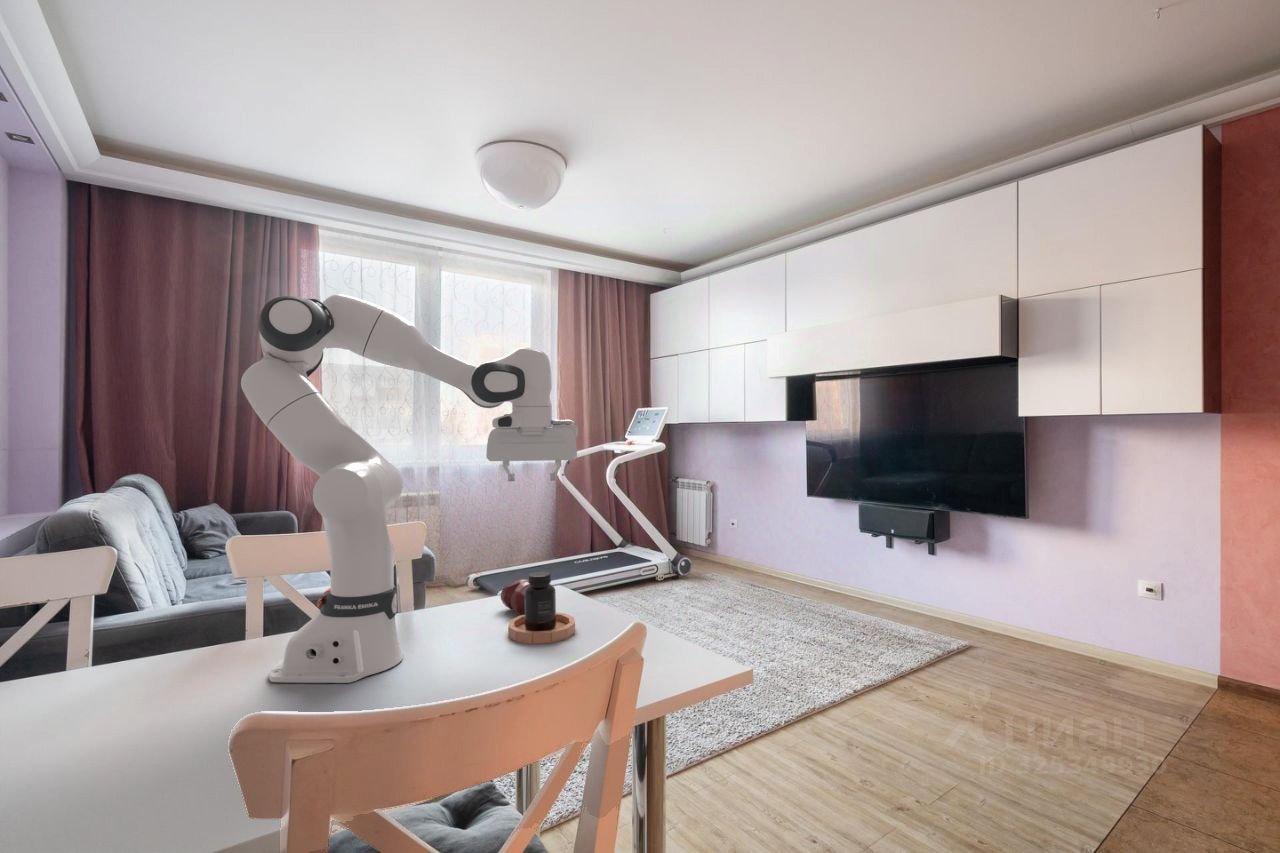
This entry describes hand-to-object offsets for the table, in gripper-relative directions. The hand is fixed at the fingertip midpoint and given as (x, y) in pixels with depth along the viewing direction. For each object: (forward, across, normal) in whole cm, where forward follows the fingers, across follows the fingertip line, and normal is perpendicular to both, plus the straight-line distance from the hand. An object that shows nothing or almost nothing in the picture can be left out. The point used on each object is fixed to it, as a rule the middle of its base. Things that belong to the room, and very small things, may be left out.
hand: (532, 480), depth 137 cm
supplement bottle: (+32, -2, +4) cm, 33 cm away
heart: (+33, +2, -12) cm, 36 cm away
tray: (+33, -2, +4) cm, 33 cm away
